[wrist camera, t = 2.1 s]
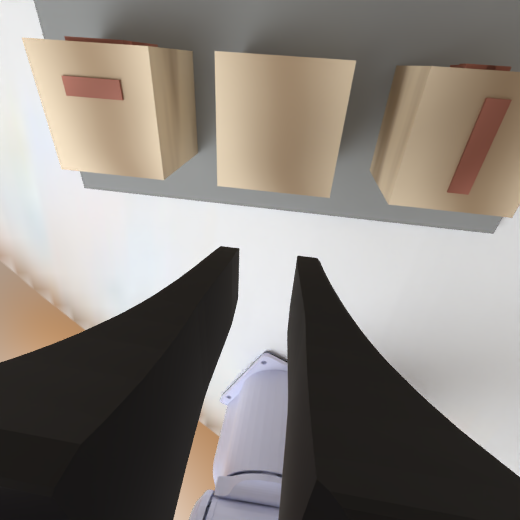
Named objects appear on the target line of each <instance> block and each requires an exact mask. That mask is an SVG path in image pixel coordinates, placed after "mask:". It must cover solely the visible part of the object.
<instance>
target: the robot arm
mask: <svg viewBox="0 0 520 520" xmlns="http://www.w3.org/2000/svg"><path fill="white" fill-rule="evenodd" d="M238 281H239V248H231V247H223V246H220V247H219V248H218V249H216V250H215V251H214V252H212V253H211V254H210V255H209V256H207V257H206V258H205V259H204V260H202V261H201V262H200V263H199V264H197V265H196V266H195V267H194V268H192V269H191V270H190V271H188V272H187V273H186V274H184V275H183V276H182V277H180V278H179V279H177V280H176V281H174V282H173V283H171V284H170V285H169V286H167V287H166V288H164V289H163V290H161V291H160V292H158V293H157V294H155V295H153V296H152V297H150V298H148V299H147V300H145V301H143V302H142V303H140V304H138V305H136V306H134V307H133V308H131V309H129V310H127V311H125V312H123V313H121V314H119V315H118V316H115V317H113V318H111V319H109V320H107V321H105V322H103V323H100V324H98V325H96V326H94V327H92V328H90V329H87V330H85V331H83V332H81V333H79V334H76V335H74V336H71V337H69V338H67V339H64V340H62V341H59V342H57V343H54V344H52V345H49V346H46V347H43V348H41V349H38V350H35V351H33V352H30V353H27V354H24V355H22V356H19V357H16V358H13V359H10V360H7V361H4V362H1V363H0V520H173V518H174V514H175V510H176V506H177V502H178V498H179V493H180V489H181V485H182V481H183V477H184V473H185V469H186V465H187V461H188V458H189V454H190V450H191V446H192V442H193V438H194V435H195V431H196V427H197V423H198V420H199V416H200V412H201V409H202V405H203V401H204V398H205V395H206V392H207V389H208V386H209V383H210V381H211V378H212V375H213V373H214V370H215V367H216V365H217V362H218V359H219V357H220V354H221V352H222V349H223V346H224V344H225V341H226V338H227V336H228V333H229V330H230V328H231V325H232V321H233V317H234V313H235V309H236V305H237V300H238ZM287 346H288V363H287V362H285V361H283V360H281V359H279V358H277V357H275V356H273V355H271V354H269V353H264V354H262V355H261V356H260V357H259V359H258V360H257V361H256V362H255V363H254V364H253V365H252V366H251V367H250V368H249V369H248V370H247V371H246V372H245V373H244V374H243V375H242V376H241V377H240V378H239V379H238V380H237V381H236V382H235V383H234V384H233V385H232V386H231V387H230V388H229V389H228V390H227V391H226V392H225V393H224V394H223V395H222V396H221V398H220V402H221V403H223V404H225V405H227V409H226V414H225V418H224V422H223V426H222V430H221V434H220V438H219V442H218V446H217V450H216V454H215V459H214V464H213V478H214V483H215V486H216V487H215V491H213V490H207V491H206V492H205V493H204V494H203V495H202V496H201V497H200V498H199V499H198V500H197V501H196V503H195V505H194V507H193V509H192V512H191V515H190V517H189V520H520V477H519V476H518V475H516V474H515V473H514V472H513V471H511V470H510V469H509V468H507V467H506V466H505V465H504V464H502V463H501V462H500V461H499V460H497V459H496V458H495V457H494V456H492V455H491V454H490V453H488V452H487V451H486V450H485V449H483V448H482V447H481V446H480V445H478V444H477V443H476V442H475V441H473V440H472V439H471V438H470V437H468V436H467V435H466V434H464V433H463V432H462V431H461V430H460V429H459V428H457V427H456V426H455V425H454V424H453V423H452V422H450V421H449V420H448V419H447V418H446V417H445V416H444V415H443V414H441V413H440V412H439V411H438V410H437V409H436V408H435V407H433V406H432V405H431V404H430V403H429V402H428V401H427V400H426V399H425V398H424V397H422V396H421V395H420V394H419V393H418V392H417V391H416V390H415V389H414V388H413V387H412V386H411V385H410V384H409V383H408V382H407V381H406V380H405V379H404V378H403V377H402V376H401V375H400V374H399V373H398V372H397V371H396V370H395V369H394V368H393V367H392V366H391V365H390V364H389V363H388V362H387V361H386V360H385V359H384V357H383V356H382V355H381V354H380V353H379V352H378V351H377V350H376V348H375V347H374V346H373V345H372V344H371V342H370V341H369V340H368V339H367V337H366V336H365V335H364V334H363V332H362V331H361V330H360V328H359V327H358V326H357V324H356V323H355V321H354V320H353V319H352V317H351V316H350V314H349V313H348V311H347V310H346V308H345V307H344V305H343V304H342V302H341V300H340V299H339V297H338V296H337V294H336V292H335V291H334V289H333V287H332V285H331V284H330V282H329V280H328V278H327V276H326V274H325V272H324V270H323V268H322V265H321V263H320V261H319V260H318V259H317V258H312V257H303V256H297V263H296V270H295V276H294V283H293V290H292V296H291V303H290V312H289V322H288V332H287Z"/></svg>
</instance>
